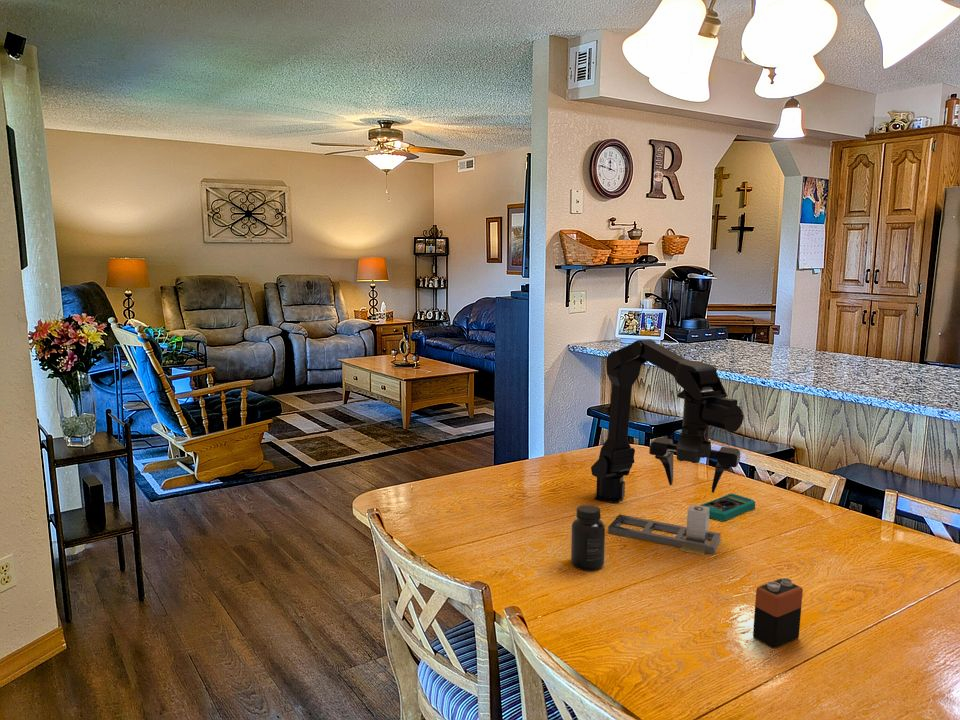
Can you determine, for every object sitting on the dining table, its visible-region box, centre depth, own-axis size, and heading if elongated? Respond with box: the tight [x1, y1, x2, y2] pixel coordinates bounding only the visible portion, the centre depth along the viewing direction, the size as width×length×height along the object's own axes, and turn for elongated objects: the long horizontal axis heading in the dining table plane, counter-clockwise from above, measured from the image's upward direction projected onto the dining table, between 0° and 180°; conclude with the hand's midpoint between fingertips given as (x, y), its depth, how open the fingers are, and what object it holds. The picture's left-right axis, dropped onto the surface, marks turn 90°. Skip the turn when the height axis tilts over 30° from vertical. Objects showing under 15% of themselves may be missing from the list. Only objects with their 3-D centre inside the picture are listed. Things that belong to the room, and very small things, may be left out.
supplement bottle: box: [570, 504, 606, 571], centre depth 140 cm, size 7×7×12 cm
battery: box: [752, 577, 804, 649], centre depth 114 cm, size 4×7×10 cm, turn 121°
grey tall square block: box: [685, 504, 710, 544], centre depth 151 cm, size 4×4×8 cm
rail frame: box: [607, 513, 722, 556], centre depth 155 cm, size 23×10×2 cm, turn 62°
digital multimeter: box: [699, 493, 756, 522], centre depth 171 cm, size 7×15×3 cm, turn 128°
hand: (691, 488), depth 153 cm, fingers open, 9 cm apart
